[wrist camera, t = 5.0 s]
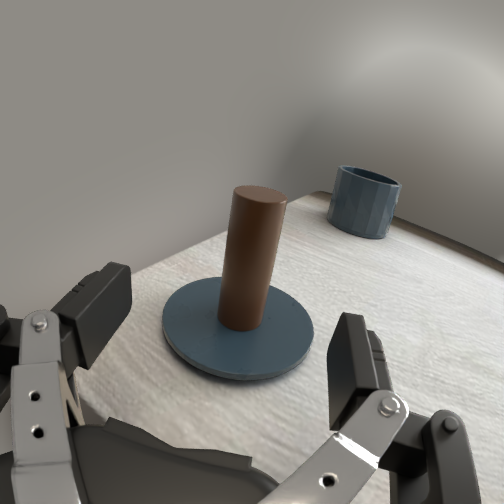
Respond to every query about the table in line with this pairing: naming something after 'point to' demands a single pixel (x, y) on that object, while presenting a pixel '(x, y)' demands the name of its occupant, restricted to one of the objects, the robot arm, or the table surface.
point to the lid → (242, 301)
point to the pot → (363, 202)
